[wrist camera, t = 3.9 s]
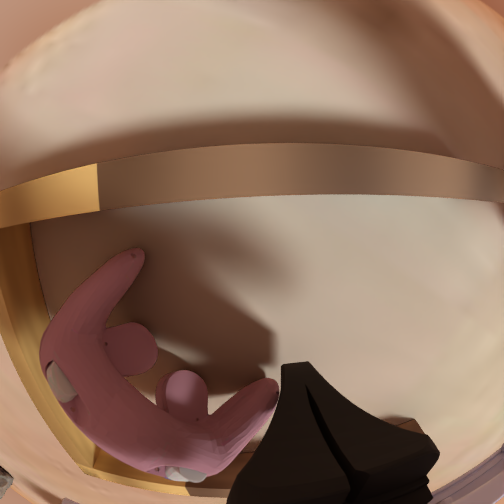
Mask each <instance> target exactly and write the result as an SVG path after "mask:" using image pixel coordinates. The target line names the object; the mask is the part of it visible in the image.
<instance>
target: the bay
mask: <svg viewBox="0 0 504 504" xmlns="http://www.w3.org/2000/svg"><path fill="white" fill-rule="evenodd" d="M313 194H370V195H405V196H427V197H443V198H457V199H469V200H480V201H490V202H499V203H504V170H503V169H499V168H495V167H492V166H488V165H484V164H479V163H475V162H471V161H466V160H461V159H457V158H451V157H446V156H441V155H435V154H429V153H422V152H416V151H408V150H401V149H392V148H383V147H373V146H361V145H346V144H325V143H258V144H236V145H221V146H209V147H198V148H188V149H180V150H171V151H164V152H157V153H150V154H143V155H137V156H131V157H126V158H120V159H115V160H110V161H105V162H100V163H96V164H91V165H87V166H82V167H78V168H74V169H70V170H66V171H62V172H59V173H55V174H51V175H48V176H44V177H41V178H38V179H35V180H31V181H28V182H25V183H22V184H19V185H16V186H13V187H10V188H7V189H5V190H2V191H0V333H1V336H2V339H3V341H4V344H5V346H6V349H7V351H8V353H9V356H10V358H11V360H12V362H13V364H14V367H15V369H16V371H17V373H18V375H19V377H20V379H21V381H22V383H23V385H24V387H25V389H26V390H27V392H28V394H29V396H30V398H31V399H32V401H33V403H34V404H35V406H36V408H37V410H38V411H39V413H40V414H41V416H42V418H43V419H44V421H45V422H46V424H47V425H48V427H49V428H50V430H51V431H52V433H53V434H54V435H55V437H56V438H57V440H58V441H59V442H60V444H61V445H62V446H63V448H64V449H65V450H66V452H67V453H68V454H69V455H70V457H71V458H72V459H73V460H74V462H75V463H76V464H77V465H78V466H79V468H80V469H81V470H82V471H83V472H84V473H85V474H87V475H90V476H94V477H97V478H100V479H103V480H107V481H111V482H114V483H118V484H122V485H126V486H131V487H135V488H140V489H145V490H151V491H156V492H163V493H170V494H178V495H187V496H199V497H220V498H228V495H229V492H230V490H231V487H232V485H233V483H234V481H235V479H236V476H237V474H238V473H239V472H240V471H241V470H242V468H243V467H244V466H245V465H246V463H247V462H248V461H249V460H250V458H251V457H252V455H253V454H254V453H239V454H238V455H237V456H236V457H235V458H234V460H233V461H232V462H231V463H230V464H229V465H228V466H227V467H226V468H225V469H223V470H222V471H221V472H219V473H218V474H215V475H212V476H208V477H206V478H205V479H204V480H203V481H201V482H197V483H194V482H190V481H188V482H185V481H173V480H170V479H167V478H164V477H161V476H157V475H154V474H150V473H147V472H144V471H141V470H139V469H136V468H134V467H132V466H130V465H127V464H125V463H123V462H121V461H120V460H118V459H116V458H115V457H113V456H111V455H110V454H108V453H107V452H105V451H104V450H102V449H101V448H100V447H98V446H97V445H96V444H95V443H93V442H92V441H91V440H90V439H89V438H88V437H87V436H85V435H84V434H83V433H82V432H81V431H80V430H79V429H78V428H77V427H76V426H75V424H74V423H73V422H72V421H71V420H70V418H69V417H68V416H67V415H66V413H65V412H64V410H63V409H62V407H61V406H60V404H59V402H58V401H57V399H56V397H55V396H54V394H53V392H52V390H51V388H50V386H49V384H48V382H47V380H46V378H45V376H44V374H43V372H42V369H41V365H40V360H39V349H40V342H41V338H42V335H43V333H44V331H45V329H46V328H47V326H48V325H49V323H50V322H51V321H50V318H49V315H48V311H47V308H46V304H45V301H44V297H43V293H42V289H41V285H40V281H39V276H38V272H37V267H36V262H35V257H34V251H33V245H32V238H31V231H30V223H29V222H34V221H39V220H44V219H50V218H56V217H62V216H68V215H74V214H81V213H87V212H94V211H101V210H109V209H116V208H124V207H132V206H141V205H150V204H160V203H170V202H181V201H192V200H205V199H219V198H234V197H252V196H275V195H313ZM397 427H400V428H403V429H406V430H410V431H414V432H418V433H422V434H425V433H424V432H423V430H422V429H421V427H420V426H419V424H418V423H417V421H416V420H415V419H414V420H411V421H409V422H406V423H403V424H400V425H397Z"/></svg>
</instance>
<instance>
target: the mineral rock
mask: <svg viewBox="0 0 504 504" xmlns="http://www.w3.org/2000/svg"><path fill="white" fill-rule="evenodd" d="M12 482H13V478H12V477H11V475H10V474H8V473H7V472H6V471H5V470H3V469H2V468H0V499H1V498H2V496H3V495H4V494H5V492H6V490H7V488H9V487H10V485H12Z"/></svg>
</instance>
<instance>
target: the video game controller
mask: <svg viewBox="0 0 504 504" xmlns="http://www.w3.org/2000/svg"><path fill="white" fill-rule="evenodd" d="M144 261H145V253H144V251H143V250H142V249H140V248H132V249H128V250H125V251H123V252H121V253H119V254H118V255H116V256H114V257H112V258H111V259H110V260H108V261H107V262H106V263H105V264H104V265H102V266H101V267H100V268H99V269H98V270H97V271H95V272H94V273H93V274H92V275H91V276H90V277H89V278H87V279H86V280H85V281H84V282H83V283H82V284H81V285H80V286H78V287H77V289H76V290H75V291H74V292H73V293H72V294H71V295H70V296H69V297H68V299H67V300H66V301H65V303H64V304H63V306H62V307H61V308H60V310H59V311H58V312H57V314H56V315H55V316H54V318H53V319H52V320H51V322H50V323H49V325H48V326H47V328H46V329H45V331H44V333H43V335H42V338H41V342H40V349H39V360H40V365H41V369H42V372H43V374H44V376H45V378H46V380H47V382H48V384H49V386H50V388H51V390H52V392H53V394H54V396H55V397H56V399H57V401H58V402H59V404H60V406H61V407H62V409H63V410H64V412H65V413H66V415H67V416H68V417H69V418H70V420H71V421H72V422H73V423H74V424H75V426H76V427H77V428H78V429H79V430H80V431H81V432H82V433H83V434H84V435H85V436H87V437H88V438H89V439H90V440H91V441H92V442H93V443H95V444H96V445H97V446H98V447H100V448H101V449H102V450H104V451H105V452H107V453H108V454H110V455H111V456H113V457H115V458H116V459H118V460H120V461H121V462H123V463H125V464H127V465H130V466H132V467H134V468H136V469H139V470H141V471H144V472H147V473H150V474H154V475H157V476H161V477H164V478H167V479H170V480H173V481H185V482H188V481H190V482H194V483H197V482H201V481H203V480H204V479H205V478H206V477H208V476H212V475H215V474H218V473H219V472H221V471H222V470H223V469H225V468H226V467H227V466H228V465H229V464H230V463H231V462H232V461H233V460H234V458H235V457H236V456H237V455H238V454H239V453H240V452H241V450H242V449H243V448H244V447H245V446H246V445H247V443H248V442H249V441H250V440H251V439H252V438H253V437H254V436H255V434H256V433H257V432H258V431H259V430H260V429H261V427H262V426H263V425H264V424H265V423H266V421H267V420H268V419H269V417H270V416H271V414H272V413H273V411H274V410H275V407H276V404H277V401H278V398H279V386H278V383H277V382H276V381H275V380H274V379H270V378H263V379H260V380H258V381H255V382H252V383H251V384H249V385H247V386H246V387H244V388H243V389H241V390H240V391H239V392H237V393H236V394H235V395H234V396H233V397H231V398H230V399H229V400H228V401H226V402H225V403H224V404H223V405H222V406H221V407H219V408H218V409H217V410H216V411H215V412H214V413H213V414H211V415H209V414H208V408H207V405H208V391H207V387H206V384H205V382H204V381H203V379H202V378H201V377H200V376H199V375H197V374H196V373H194V372H191V371H188V370H180V371H176V372H172V373H169V374H166V375H164V376H163V377H162V378H161V379H160V380H159V382H158V384H157V387H156V394H155V396H156V404H157V405H155V404H154V403H152V402H151V401H150V400H148V399H147V398H146V397H145V396H144V395H142V394H141V393H140V392H139V391H138V390H137V389H136V388H135V387H134V386H132V385H131V384H130V383H129V382H128V381H127V380H126V379H125V378H124V377H129V376H133V375H138V374H142V373H145V372H146V371H148V370H149V369H150V368H152V367H153V365H154V364H155V362H156V360H157V357H158V348H157V344H156V342H155V339H154V337H153V336H152V334H151V333H150V332H149V330H147V329H146V328H145V327H144V326H142V325H141V324H138V323H133V322H131V323H125V324H122V325H119V326H115V327H109V328H107V327H106V325H105V324H106V322H107V319H108V317H109V315H110V313H111V311H112V310H113V308H114V307H115V306H116V304H117V303H118V302H119V300H120V299H121V298H122V296H123V295H124V294H125V292H126V291H127V290H128V289H129V287H130V286H131V285H132V283H133V282H134V280H135V278H136V277H137V275H138V273H139V271H140V270H141V268H142V266H143V263H144Z"/></svg>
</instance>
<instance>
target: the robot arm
mask: <svg viewBox="0 0 504 504" xmlns="http://www.w3.org/2000/svg"><path fill="white" fill-rule="evenodd" d="M439 455H440V452H439V450H438V449H437V447H436V445H435V444H434V442H433V441H432V440H431V438H430V437H429V436H428V435H426V434H422V433H418V432H414V431H410V430H406V429H403V428H400V427H397V426H394V425H392V424H389V423H387V422H385V421H383V420H380V419H378V418H376V417H374V416H372V415H370V414H369V413H367V412H365V411H364V410H362V409H360V408H359V407H357V406H356V405H354V404H353V403H352V402H350V401H349V400H348V399H346V398H345V397H344V396H343V395H341V394H340V393H339V392H338V391H337V390H336V389H335V388H334V387H332V386H331V385H330V384H329V383H328V382H327V381H326V380H325V379H324V378H323V377H322V376H321V375H320V374H319V373H318V371H317V370H316V369H315V368H314V367H313V366H312V365H311V364H310V363H309V362H308V361H307V362H298V363H289V364H283V365H282V366H281V391H280V396H279V400H278V403H277V407H276V410H275V413H274V415H273V418H272V421H271V423H270V425H269V427H268V429H267V431H266V433H265V435H264V437H263V439H262V441H261V443H260V444H259V446H258V448H257V449H256V451H255V452H254V454H253V455H252V457H251V458H250V460H249V461H248V462H247V463H246V465H245V466H244V467H243V468H242V470H241V471H240V472H239V473H238V474H237V476H236V479H235V481H234V483H233V485H232V487H231V490H230V492H229V495H228V498H227V503H226V504H495V503H496V502H497V501H498V500H499V499H501V498H502V497H503V496H504V444H503V445H502V447H501V448H500V449H499V450H497V451H496V452H495V453H494V454H492V455H491V456H490V457H488V458H487V459H485V460H484V461H483V462H481V463H480V464H478V465H477V466H475V467H474V468H472V469H471V470H469V471H468V472H466V473H465V474H463V475H462V476H460V477H458V478H457V479H455V480H453V481H452V482H450V483H448V484H446V485H445V486H443V487H441V488H439V489H437V490H435V491H433V492H432V493H431V492H430V490H429V488H428V486H427V484H428V483H429V479H428V477H427V476H426V475H427V474H428V472H429V471H430V470H431V469H432V467H433V466H434V465H435V463H436V462H437V460H438V458H439ZM61 504H79V503H77V502H74V501H72V500H70V499H67V498H63V501H62V503H61Z"/></svg>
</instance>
